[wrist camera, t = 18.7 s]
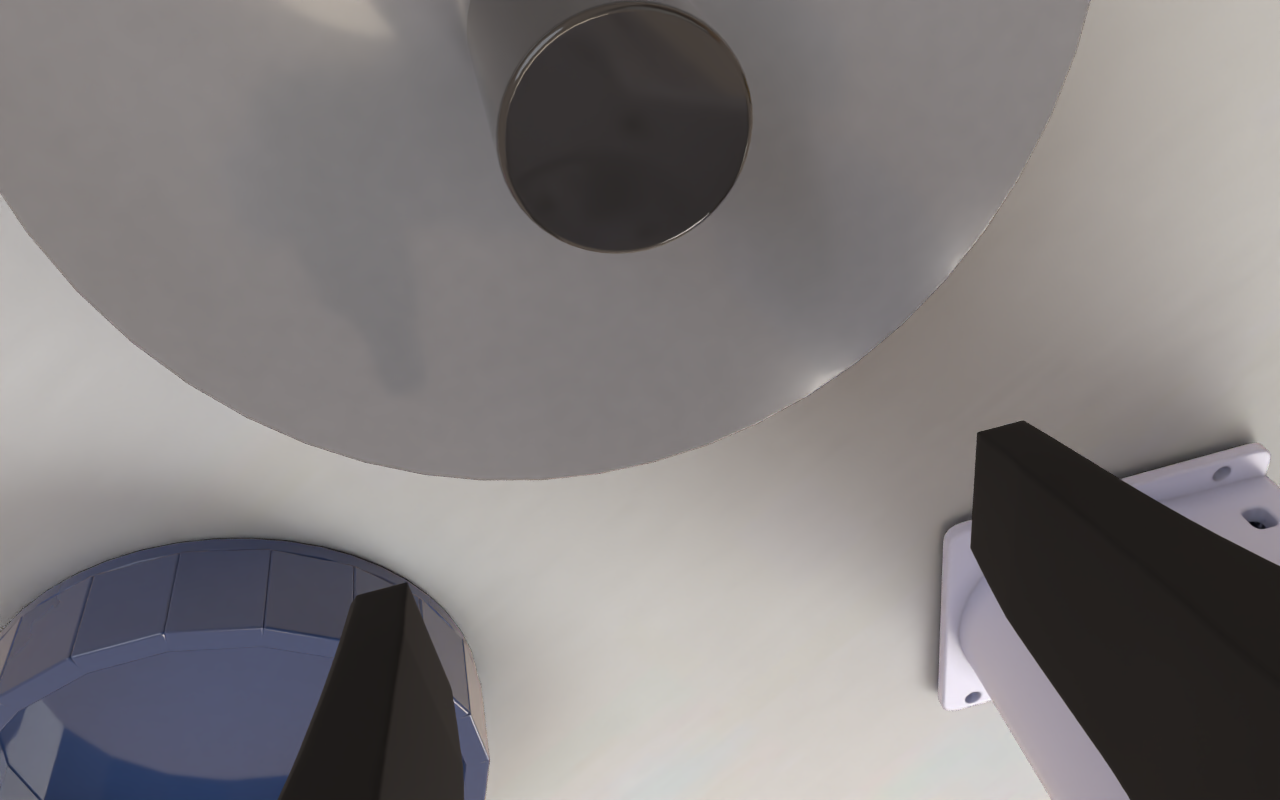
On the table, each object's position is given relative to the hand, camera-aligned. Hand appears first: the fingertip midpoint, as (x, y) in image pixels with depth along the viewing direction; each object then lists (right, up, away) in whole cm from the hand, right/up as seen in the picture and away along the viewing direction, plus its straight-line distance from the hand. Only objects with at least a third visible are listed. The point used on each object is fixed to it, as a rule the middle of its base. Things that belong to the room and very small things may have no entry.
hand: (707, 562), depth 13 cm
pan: (-11, -6, +14) cm, 19 cm away
